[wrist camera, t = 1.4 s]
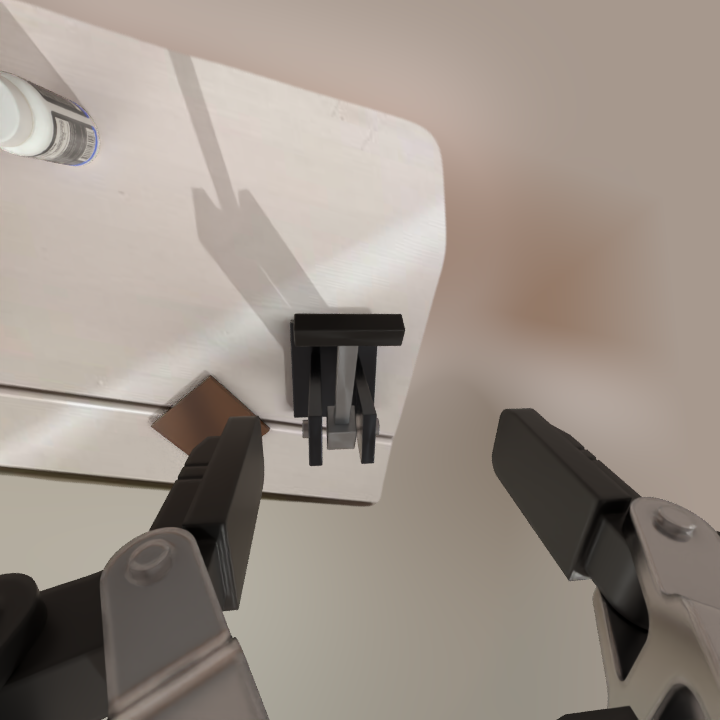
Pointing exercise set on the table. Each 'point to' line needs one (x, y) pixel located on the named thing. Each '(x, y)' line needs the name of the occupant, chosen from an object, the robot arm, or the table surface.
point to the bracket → (333, 395)
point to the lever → (346, 359)
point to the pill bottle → (44, 124)
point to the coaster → (201, 415)
